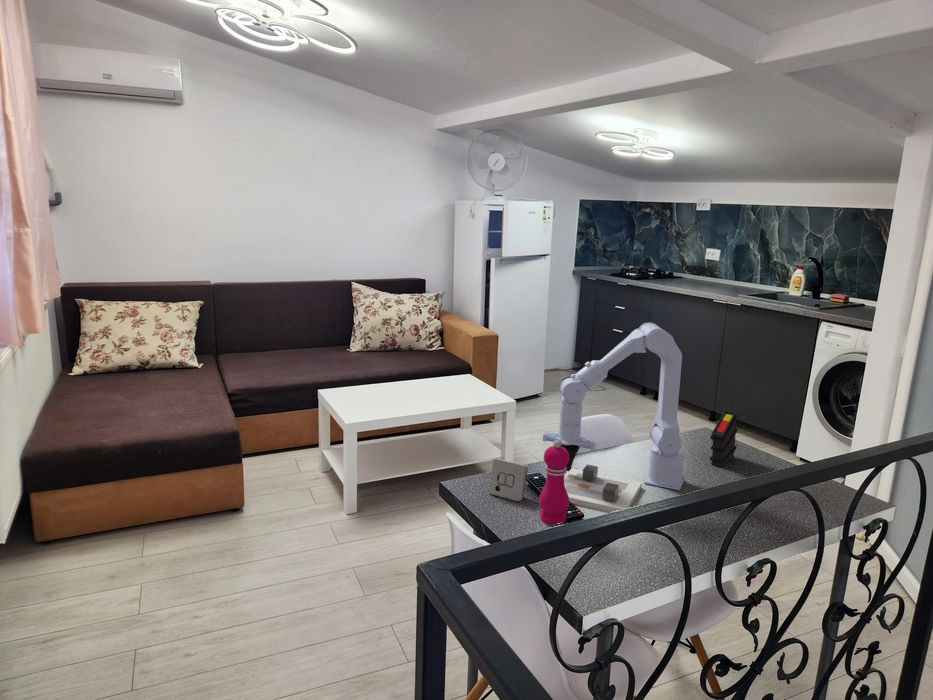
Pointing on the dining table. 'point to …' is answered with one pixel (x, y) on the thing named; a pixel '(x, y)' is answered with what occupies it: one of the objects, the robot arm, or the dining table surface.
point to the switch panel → (599, 491)
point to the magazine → (724, 439)
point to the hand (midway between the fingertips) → (567, 469)
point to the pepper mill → (554, 485)
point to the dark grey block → (590, 472)
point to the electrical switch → (508, 479)
